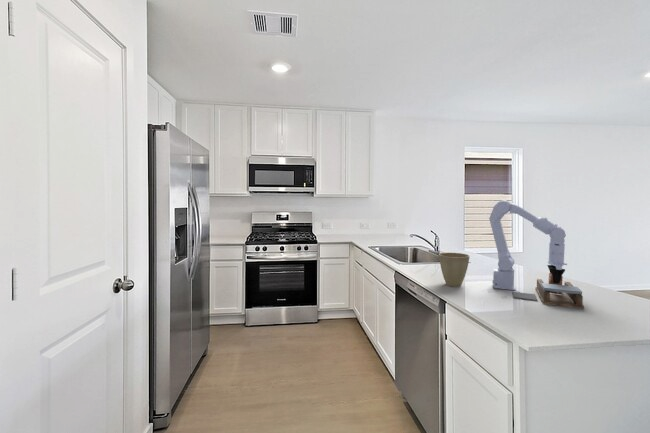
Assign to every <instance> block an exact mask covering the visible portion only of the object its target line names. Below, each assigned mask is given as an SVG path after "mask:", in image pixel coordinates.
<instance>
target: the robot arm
mask: <svg viewBox="0 0 650 433" xmlns="http://www.w3.org/2000/svg"><path fill="white" fill-rule="evenodd" d="M507 213H509V214H515V215H518V216H519V217H521V218H524V219H525V220H527V221H528V222H531V223H532V226H533V227H534V228H535V229H537V230H539V231H540V233H541V232H542V233H543V234H545V235H549V237H550V238H549V239H550V241H549V243H548V244H549V246H548V247H549V248H548V262H547V265H546V266H547V268H548V270H549V273H552V277H553V282H554V283H558V284H559V283H560V280H561V277H562V276H563V275H564V273H565V272H566V269H565V268H563V267H564V266H568V263H567V262H565V246H566V245H565V242H566V241H565V239H566V238H565V237H566V231H565V229H563V228H562V227H561V226H558V224H557V223H555V224H554V223H553V222H551V221H549V220H548V218H547V217H542V216H540V217H537V216H535V215H534V214H532V213H531V212H529V211H527V210H525V209H524V207H521V206H519V205H517V204H515V203H512V202H510V201H509V200H500V201H497V202H496V203H495V205H494V206H493V208H492V209H491V213H490V215H489V217H488V219H489V224H490V227H491V231H492V234H493V238H494V243H495V246H496V249H497V250H496V251H497V258H498V261H497V262H498V263H497V266H498V268H496V269H495V268H493V272H492V274H493V275H492V276H493V279H492V287H493V288H494V289H501V290H509V291H515V290H516V286H515V269H514V268H513V266H514V265H515V260H514V258H513V257H512V256H511V253H510V250H509V248H508V244H507V240H506V236H505V232H504V229H503V224H502V219H503V217H504V216H505V215H507Z"/></svg>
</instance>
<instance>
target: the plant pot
mask: <svg viewBox="0 0 650 433" xmlns="http://www.w3.org/2000/svg"><path fill="white" fill-rule="evenodd" d="M470 257H471V255H469V254H467V253H461V252H440V253H438V258H439V265H440V270H441V273H442V276H443V280H444V282H445V285H447V286H449V287H456V288H457V287H462V285H463V282H464V281H465V277H466V274H467V271H468V267H469V263H470V262H469V261H470Z"/></svg>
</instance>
